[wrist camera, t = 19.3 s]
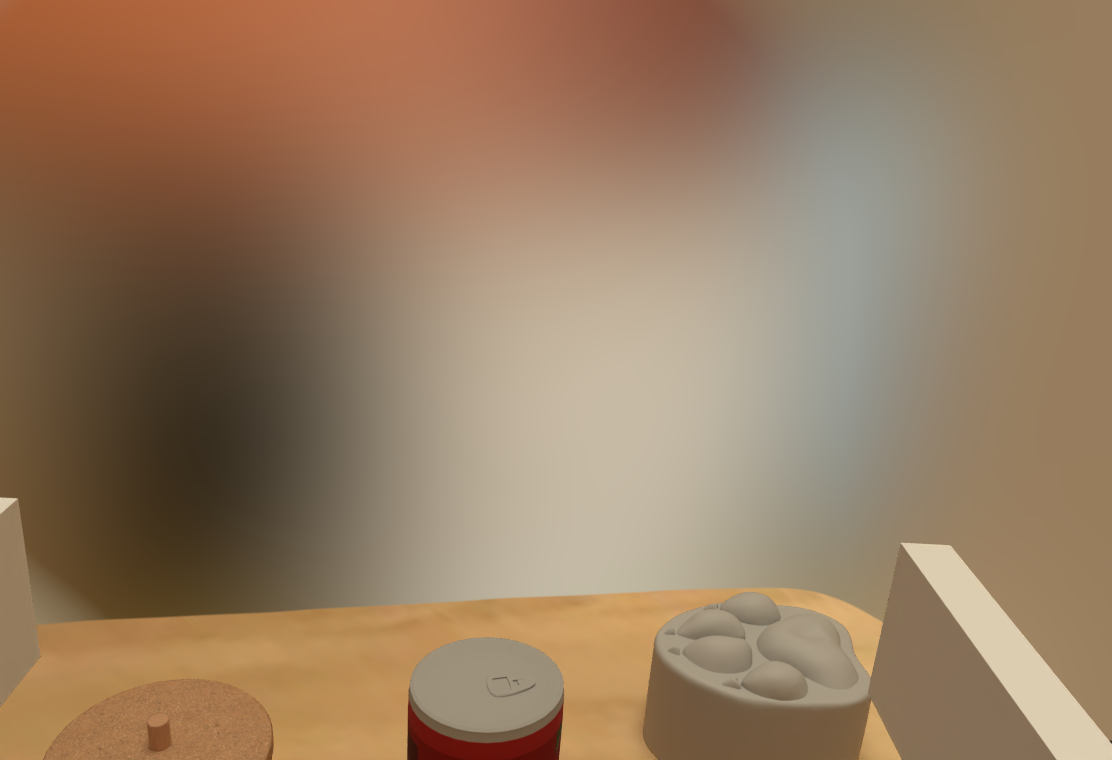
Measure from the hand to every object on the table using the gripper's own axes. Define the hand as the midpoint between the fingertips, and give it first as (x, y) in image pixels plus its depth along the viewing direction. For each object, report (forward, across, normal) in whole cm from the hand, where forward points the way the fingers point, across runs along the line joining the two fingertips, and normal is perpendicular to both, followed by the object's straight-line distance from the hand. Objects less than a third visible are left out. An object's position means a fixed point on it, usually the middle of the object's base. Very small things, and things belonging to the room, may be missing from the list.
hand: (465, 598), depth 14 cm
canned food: (+28, 0, -34) cm, 44 cm away
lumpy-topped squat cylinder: (+37, +17, -34) cm, 53 cm away
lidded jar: (+26, -16, -34) cm, 46 cm away
